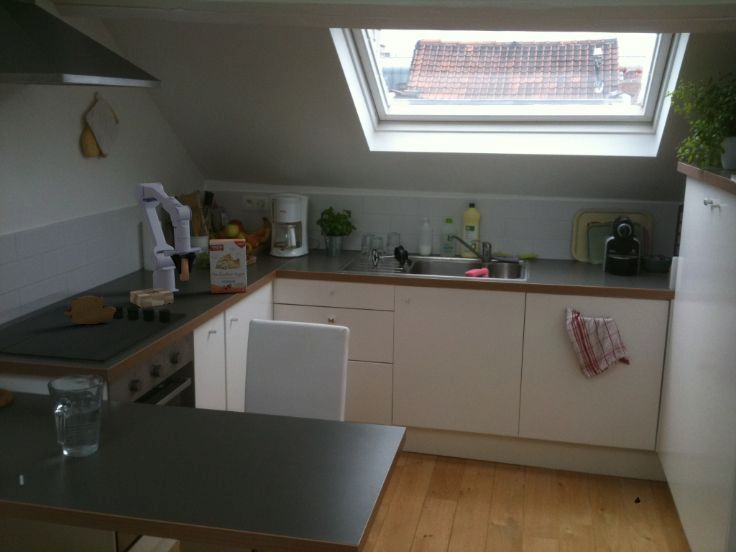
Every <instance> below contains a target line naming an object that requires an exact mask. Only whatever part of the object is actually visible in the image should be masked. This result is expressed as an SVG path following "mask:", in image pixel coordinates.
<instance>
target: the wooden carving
mask: <svg viewBox="0 0 736 552" xmlns="http://www.w3.org/2000/svg"><path fill="white" fill-rule="evenodd" d="M70 306H71V308H70V309H64V310H63V315H65V316H69V318H68V320H69V322H71V323H75V324H77V325H81V324H94V325H96V324H99V323H101V322H103V321H104V322H112V321H113V320H114V316H115V313H116V312H117V308H116V306H114V305H112V304H111V305H110V304H108V305H107V304H106V305H105V300H104V298H103V295H102V296H97V295H94V294H93V295H92V294H88V295H81V296H78V297H77V298H72V299H71V301H70Z"/></svg>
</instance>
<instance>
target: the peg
mask: <svg viewBox="0 0 736 552" xmlns="http://www.w3.org/2000/svg"><path fill="white" fill-rule="evenodd" d="M179 280H180V281H181V282H184V281H186V282H187V281H189V280H190V273H189V266H188V259H186V258H181V274H179Z"/></svg>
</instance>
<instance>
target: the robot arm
mask: <svg viewBox="0 0 736 552" xmlns="http://www.w3.org/2000/svg"><path fill="white" fill-rule="evenodd" d="M133 194H134V197H135V200H136V203H137V206H138V207H140V209H141V212H142V215H143V218H144V220H145V221H144V222H145V224H146V228H147V230H148V234H149V237H150V240H151V243H152V246H153V248H151V249H150V251H149V252H148V256H149V257H148V258H149V264H150V267H151V268H152V269H153V273H152V287H153V288H160V287H161V288H163V289H166V290H168V291H170V292H173V293H175V292H179V291H180V289H178V288H176V282H175V281H176V279H175V269H176V274H177V275H180V274H181V259H183V258H182V256H181V255H184V256H185V259H188V266H189V274H190V273H192V269H193V265H194V261H195V260H196V257H197V254H201V253H203V251H202V247H199V246H198V247H191V235H190V234H191V233H190V232H191V231H190V229H191V228H190V221H191V220H192V218H193V213H192V209H191V207H190V206H189V205H183V204H182V203H181V202H180V201H178V200H177V198H175V196H168V195H167V193H166V192H165V190H164V186H163V184H161V182H159V181H158V182H146V183H145V182H144V183H136V184H135V187H134V192H133ZM160 203H161V204H162V208H163V209H164V210H165V211H166V212H167V213H168V214H169V217H170V220H171V223H172V224H171V225H172V227H173V234H174V237H173V238H174V247H173V246H171V245H169V244H168V243H167V241H166V238H165V236H164V232H163V229H162V226H161V223H160V219H159V216H158V213H157V210H156V207H158V206H159V205H160Z"/></svg>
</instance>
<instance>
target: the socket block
mask: <svg viewBox="0 0 736 552" xmlns="http://www.w3.org/2000/svg"><path fill="white" fill-rule="evenodd" d="M129 297H130V300H129V301H130V303H132V304H134V305H136V306H138V307H140V308H142V309H144V308H148V307H149V308H150V307H156V306H163V304H164V305H169V304H168V303H171V304H174V303H175V302H174V292H170V291H168V290H166V289H163V288H161V287H160V288H154V287H153V288H145V289H137V290H132V291H131V290H130V291H129ZM143 307H144V308H143Z"/></svg>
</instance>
